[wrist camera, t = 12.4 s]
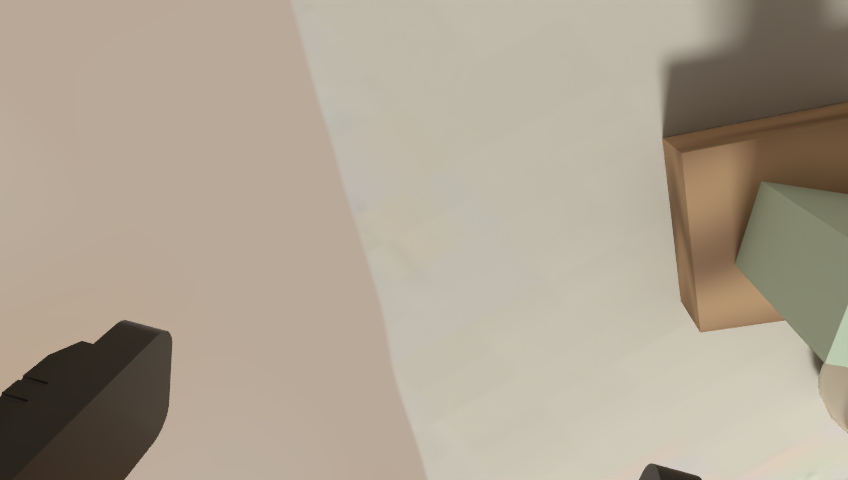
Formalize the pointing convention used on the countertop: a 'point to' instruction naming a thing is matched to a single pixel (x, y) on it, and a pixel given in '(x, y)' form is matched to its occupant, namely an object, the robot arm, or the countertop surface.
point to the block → (802, 263)
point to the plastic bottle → (835, 392)
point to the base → (742, 201)
